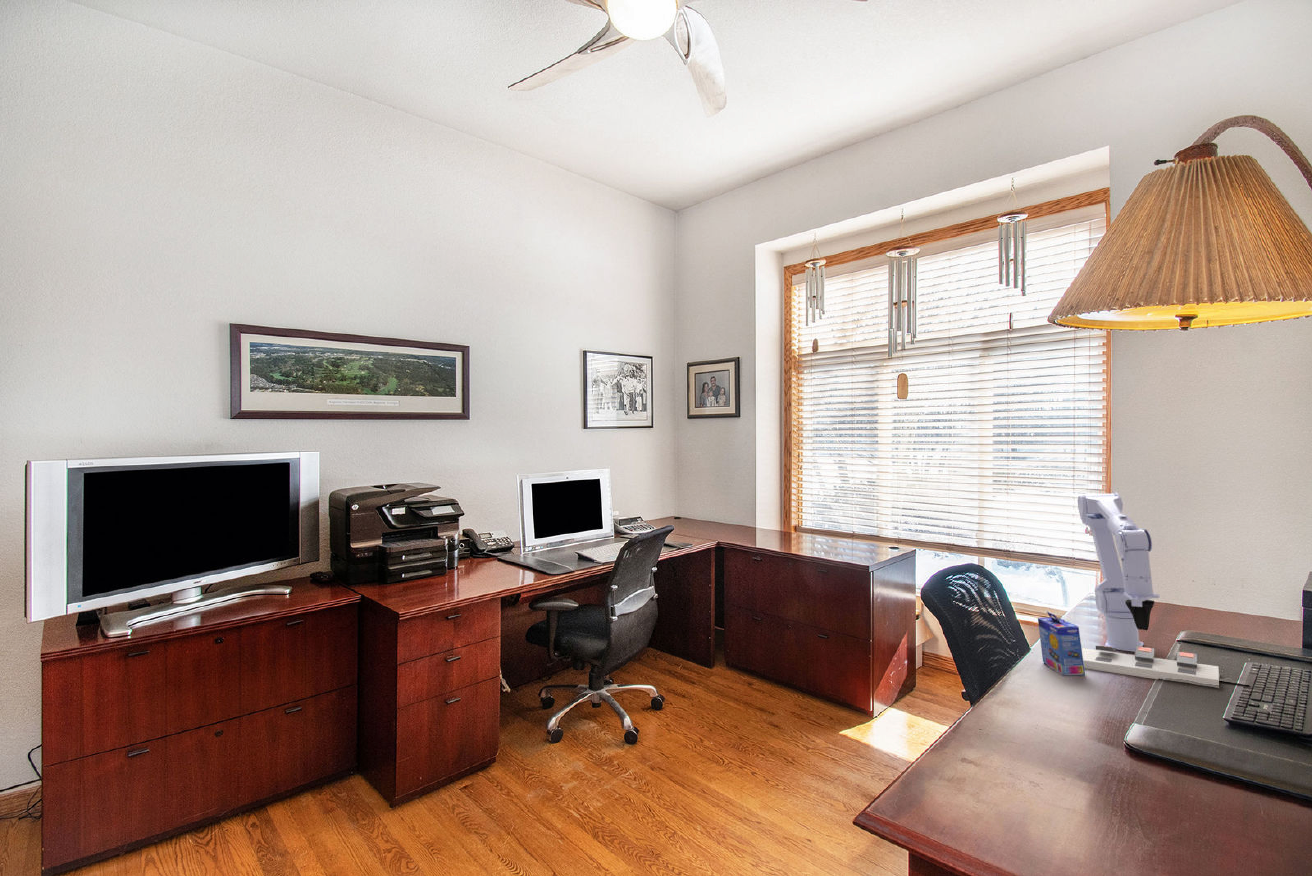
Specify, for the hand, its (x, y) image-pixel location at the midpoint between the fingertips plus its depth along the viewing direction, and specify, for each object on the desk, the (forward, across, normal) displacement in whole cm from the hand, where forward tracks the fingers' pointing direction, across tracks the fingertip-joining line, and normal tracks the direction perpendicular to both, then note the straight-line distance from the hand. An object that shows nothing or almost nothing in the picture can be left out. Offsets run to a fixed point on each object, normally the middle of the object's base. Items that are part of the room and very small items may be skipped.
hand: (1142, 629), depth 150 cm
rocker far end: (+6, -2, +8) cm, 10 cm away
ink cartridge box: (+10, -13, +16) cm, 23 cm away
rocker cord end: (+6, -2, -8) cm, 10 cm away
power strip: (+9, -4, -3) cm, 11 cm away
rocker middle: (+6, -2, 0) cm, 7 cm away
